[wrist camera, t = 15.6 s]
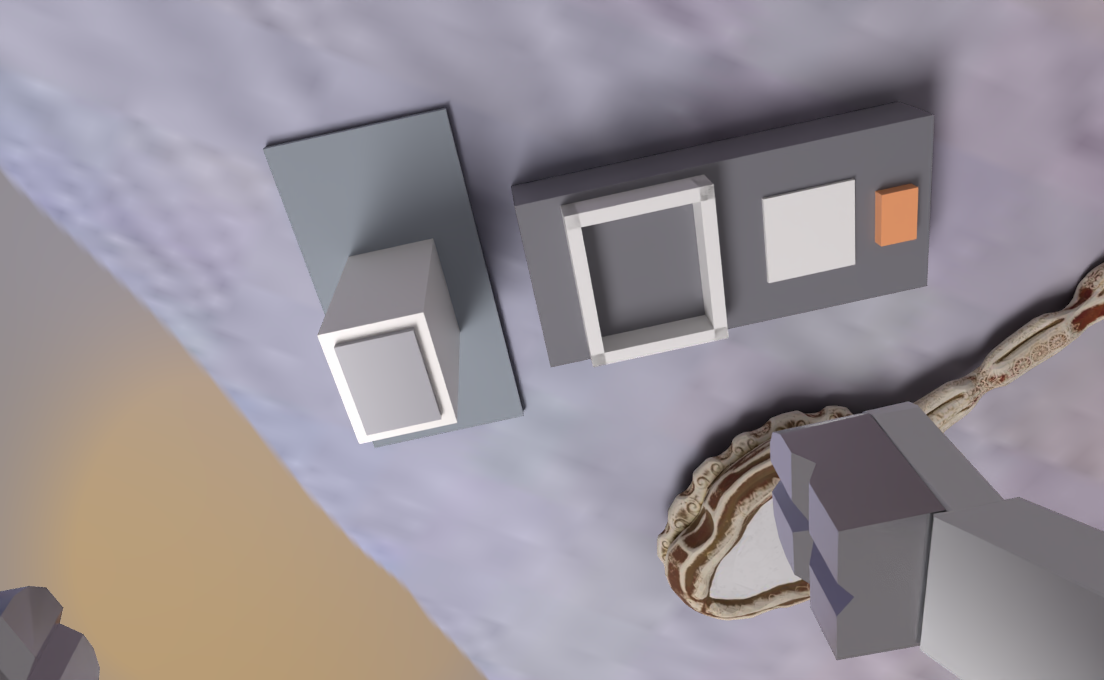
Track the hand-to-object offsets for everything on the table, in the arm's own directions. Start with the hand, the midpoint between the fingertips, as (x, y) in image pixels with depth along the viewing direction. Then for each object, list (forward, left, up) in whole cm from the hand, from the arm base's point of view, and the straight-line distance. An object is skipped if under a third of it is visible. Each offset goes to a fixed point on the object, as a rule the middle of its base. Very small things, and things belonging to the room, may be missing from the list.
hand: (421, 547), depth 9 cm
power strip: (+8, +10, -28) cm, 31 cm away
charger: (+8, -5, -27) cm, 29 cm away
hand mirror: (+21, +19, -28) cm, 40 cm away
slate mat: (+8, -5, -28) cm, 29 cm away
